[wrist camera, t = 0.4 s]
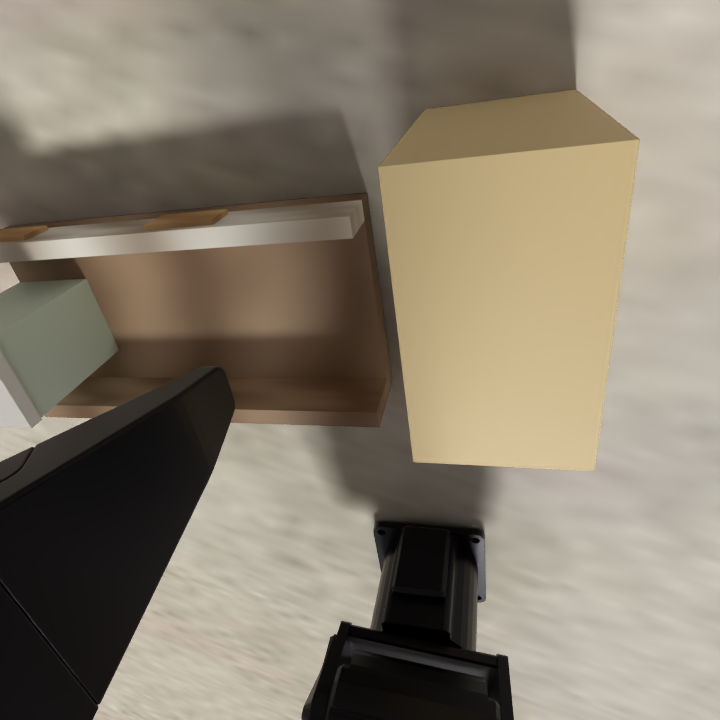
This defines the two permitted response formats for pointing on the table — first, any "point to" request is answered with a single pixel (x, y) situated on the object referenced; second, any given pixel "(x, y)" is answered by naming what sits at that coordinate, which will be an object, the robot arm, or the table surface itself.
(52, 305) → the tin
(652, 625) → the table surface
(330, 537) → the table surface
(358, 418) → the shelf
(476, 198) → the carton
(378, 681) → the robot arm
